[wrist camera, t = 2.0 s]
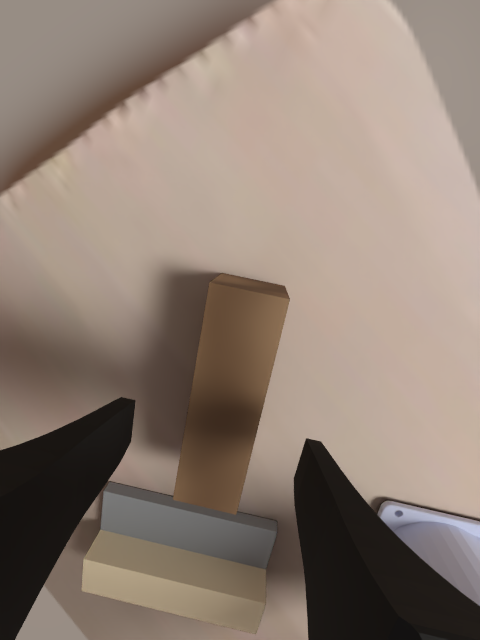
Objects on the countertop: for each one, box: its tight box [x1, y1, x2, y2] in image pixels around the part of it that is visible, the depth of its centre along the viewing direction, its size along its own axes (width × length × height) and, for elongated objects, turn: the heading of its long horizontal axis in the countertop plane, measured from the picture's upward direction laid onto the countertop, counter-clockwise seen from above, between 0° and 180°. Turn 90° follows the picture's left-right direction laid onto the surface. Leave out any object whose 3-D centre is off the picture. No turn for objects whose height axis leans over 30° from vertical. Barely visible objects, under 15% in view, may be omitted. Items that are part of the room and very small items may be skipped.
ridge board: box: [82, 482, 277, 634], centre depth 20 cm, size 12×10×3 cm
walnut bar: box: [173, 273, 290, 515], centre depth 16 cm, size 4×12×4 cm, turn 169°
